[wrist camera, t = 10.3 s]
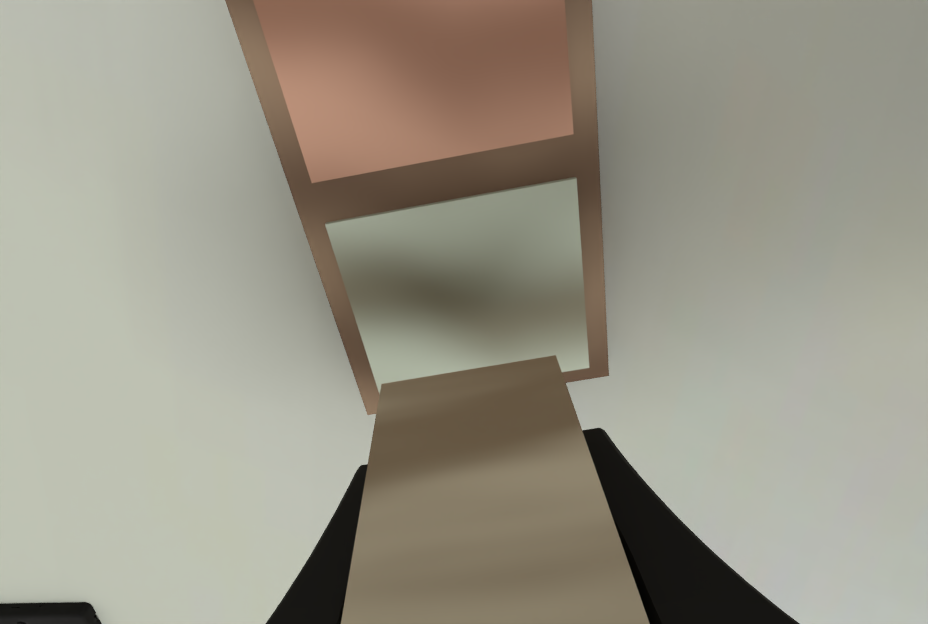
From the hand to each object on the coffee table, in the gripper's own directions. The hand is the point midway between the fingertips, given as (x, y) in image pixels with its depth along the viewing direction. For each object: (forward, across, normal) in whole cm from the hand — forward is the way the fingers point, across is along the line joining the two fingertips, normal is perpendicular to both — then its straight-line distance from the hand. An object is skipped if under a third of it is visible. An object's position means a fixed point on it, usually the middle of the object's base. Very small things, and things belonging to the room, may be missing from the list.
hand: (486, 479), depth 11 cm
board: (+10, 0, -4) cm, 11 cm away
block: (+1, 0, 0) cm, 1 cm away
